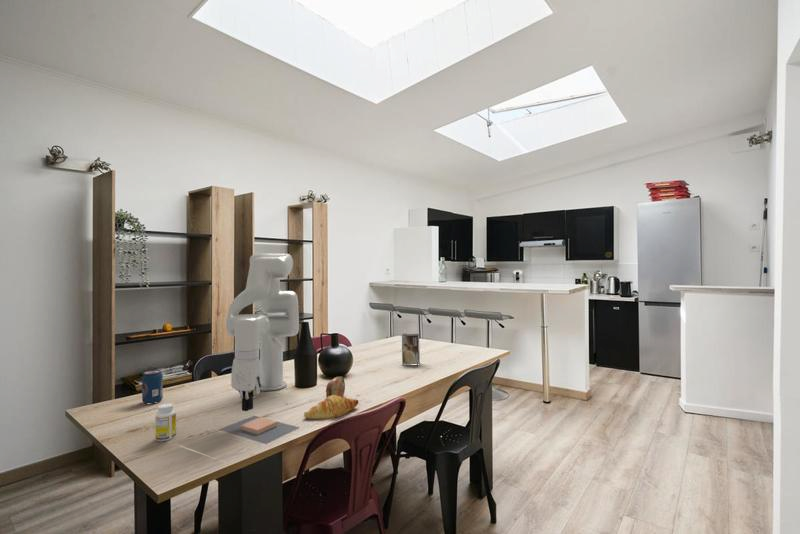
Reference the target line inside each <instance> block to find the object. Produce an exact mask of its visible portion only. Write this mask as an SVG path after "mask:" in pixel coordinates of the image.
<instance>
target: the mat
mask: <svg viewBox="0 0 800 534" xmlns="http://www.w3.org/2000/svg"><path fill="white" fill-rule="evenodd" d="M260 417H261V416H258V415H252V416H250V417H247V418H244V419H242V420H239V421H237V422H235V423H232V424H229V425H227V426H225V427H221V428H219V431H223V432H226V433H229V434H232V435H235V436H239V437H243V438H245V439H249V440H252V441H255V442H259V443H261V444H265V445H267V444H269V443H271V442H273V441H276V440H278V439H279V438H282V437H283V436H286V435H287V434H290V433H292V432H294V431H296V430H298V429H301V428H300V427H299V426H296V425H292V424H288V423H284V422H280V421H277V426H276V427H274V428H272V429H270V430H268V431H265V432H263V433H261V434H259V435H256V434H253V433H250V432H246V431H243V430H241V425H243V424H245V423H247V422H250V421H252V420H255V419H257V418H260Z"/></svg>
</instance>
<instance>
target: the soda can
mask: <svg viewBox="0 0 800 534" xmlns="http://www.w3.org/2000/svg"><path fill="white" fill-rule="evenodd" d="M163 381H164V380H163V373H162V370H161V369H152V370H147V371H143V374H142V377H141V395H142V396H141V397H142V398H141V401H142V403H146V404H145V405H148V404H147V403H155V402H159V401H160V402H161V401H162V399H163V397H164V392H163V391H164V390H163V389H164V388H163V385H164V384H163ZM160 402H159V403H160Z"/></svg>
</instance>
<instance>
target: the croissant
mask: <svg viewBox="0 0 800 534" xmlns="http://www.w3.org/2000/svg"><path fill="white" fill-rule="evenodd" d="M358 404H359V400H358V399H356V398H355V399H353V398H347V397H345V396H343V397H341V396H339V395H331V396H328V397H326V398H324V400H321V401H319V402H318V403H317V404H316V405H314V406H312V407H311V408H309V409H308V410H307V411H305V412H304V413H303V417H304V418H305V419H308V420H310V419H311V420H322V419H323V420H325V419H334V418H339V417H341V416H343V415H345V414H347V413H349V412H350V411H352V410H354V409H355V408H356V407H357V406H358Z"/></svg>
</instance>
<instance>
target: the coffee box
mask: <svg viewBox="0 0 800 534" xmlns="http://www.w3.org/2000/svg"><path fill="white" fill-rule="evenodd" d="M420 353H421V352H420V333H402V335H401V359H402V361H401V362H402V364H417V365H418V364H419V363H420V364H421V358H420ZM402 364H401V365H402ZM420 364H419V365H420Z"/></svg>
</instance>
